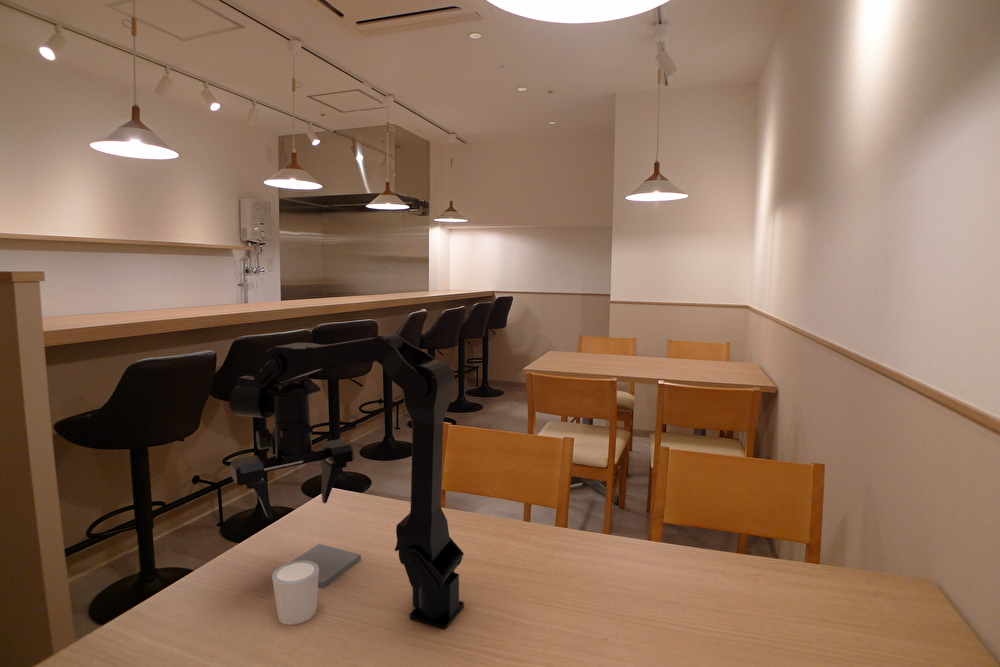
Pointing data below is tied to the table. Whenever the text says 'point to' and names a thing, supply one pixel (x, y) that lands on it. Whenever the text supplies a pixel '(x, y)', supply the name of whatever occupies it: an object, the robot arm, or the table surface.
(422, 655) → the table surface
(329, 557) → the slate plate
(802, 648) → the table surface
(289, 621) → the white cup
